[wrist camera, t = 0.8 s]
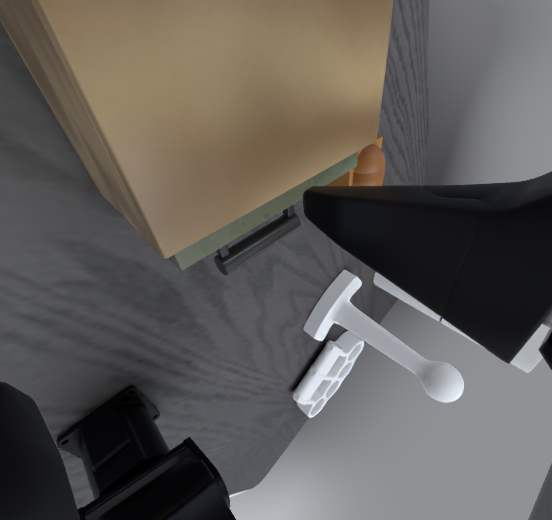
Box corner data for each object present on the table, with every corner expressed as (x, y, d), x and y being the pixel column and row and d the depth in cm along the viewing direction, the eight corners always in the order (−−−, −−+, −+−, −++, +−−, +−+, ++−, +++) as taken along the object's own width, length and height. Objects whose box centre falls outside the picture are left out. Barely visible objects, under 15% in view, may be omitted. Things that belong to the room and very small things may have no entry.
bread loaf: (350, 190, 36) (388, 205, 33) (323, 208, 34) (361, 225, 31) (354, 129, 31) (399, 140, 28) (322, 146, 29) (368, 159, 26)
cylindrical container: (370, 290, 57) (521, 381, 42) (377, 261, 52) (549, 350, 37) (390, 274, 60) (535, 352, 45) (399, 246, 56) (562, 321, 41)
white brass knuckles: (334, 322, 52) (357, 334, 64) (276, 407, 52) (309, 403, 63) (350, 334, 50) (370, 344, 62) (290, 422, 50) (321, 415, 61)
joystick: (342, 266, 44) (490, 352, 32) (355, 281, 50) (484, 358, 38) (299, 328, 44) (432, 438, 32) (318, 335, 50) (435, 430, 38)
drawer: (288, 194, 27) (352, 224, 23) (155, 270, 22) (208, 329, 17) (253, -188, 14) (394, -293, 9) (-133, -265, 8) (-233, -636, 4)
